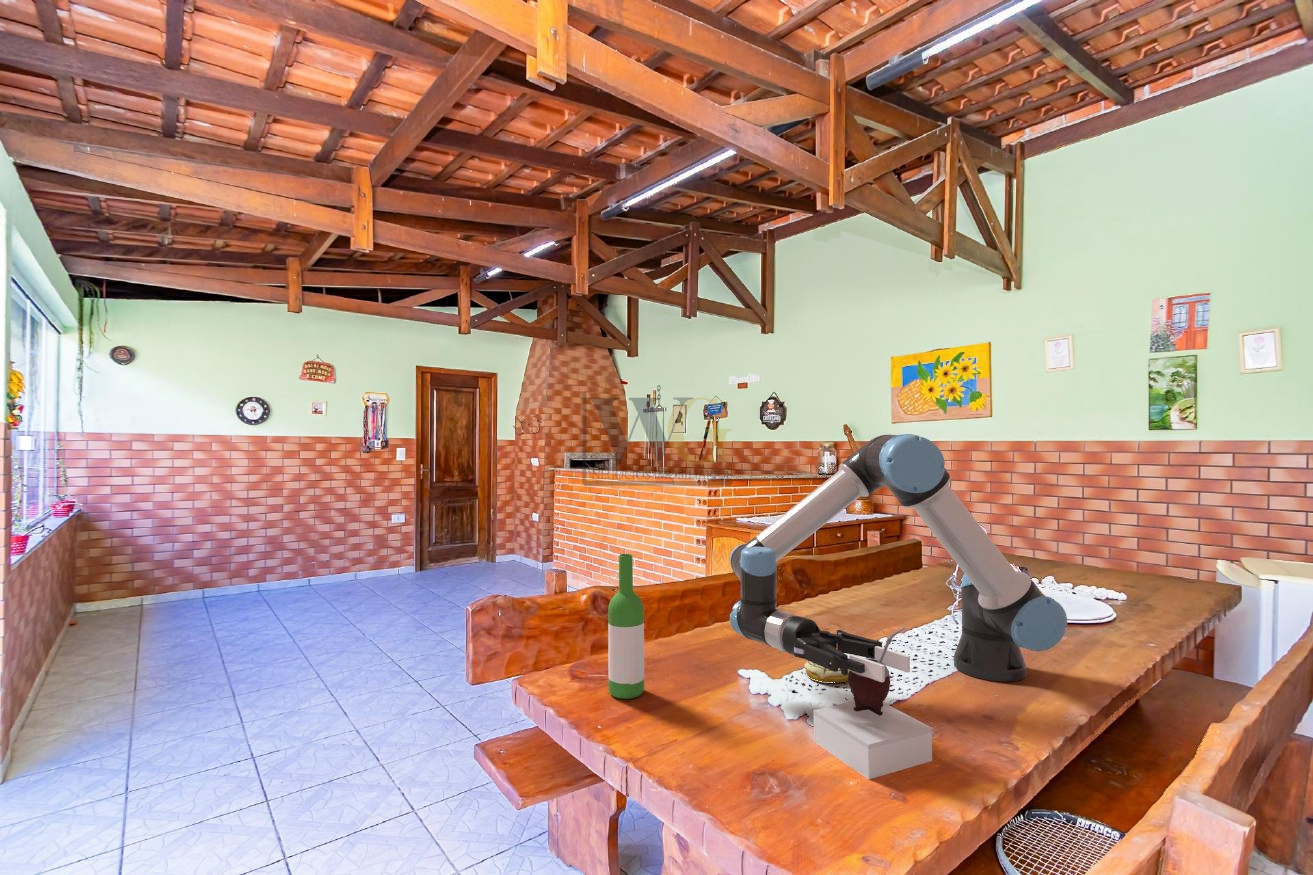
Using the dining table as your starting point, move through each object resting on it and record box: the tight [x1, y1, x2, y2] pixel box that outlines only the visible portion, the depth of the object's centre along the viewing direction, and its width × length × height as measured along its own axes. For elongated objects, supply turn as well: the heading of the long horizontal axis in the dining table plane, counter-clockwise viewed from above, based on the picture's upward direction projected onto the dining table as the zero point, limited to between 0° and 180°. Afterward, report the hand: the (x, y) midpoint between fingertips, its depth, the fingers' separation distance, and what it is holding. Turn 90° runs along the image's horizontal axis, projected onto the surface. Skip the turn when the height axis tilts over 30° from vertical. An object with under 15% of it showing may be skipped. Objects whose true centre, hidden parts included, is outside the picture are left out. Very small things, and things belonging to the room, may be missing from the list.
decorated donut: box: [804, 660, 849, 684], centre depth 145 cm, size 10×11×4 cm
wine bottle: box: [607, 553, 645, 700], centre depth 136 cm, size 8×8×30 cm
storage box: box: [813, 700, 933, 780], centre depth 111 cm, size 14×14×6 cm
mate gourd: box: [847, 626, 906, 716], centre depth 111 cm, size 8×8×15 cm
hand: (896, 668), depth 107 cm, fingers closed on mate gourd, 7 cm apart
